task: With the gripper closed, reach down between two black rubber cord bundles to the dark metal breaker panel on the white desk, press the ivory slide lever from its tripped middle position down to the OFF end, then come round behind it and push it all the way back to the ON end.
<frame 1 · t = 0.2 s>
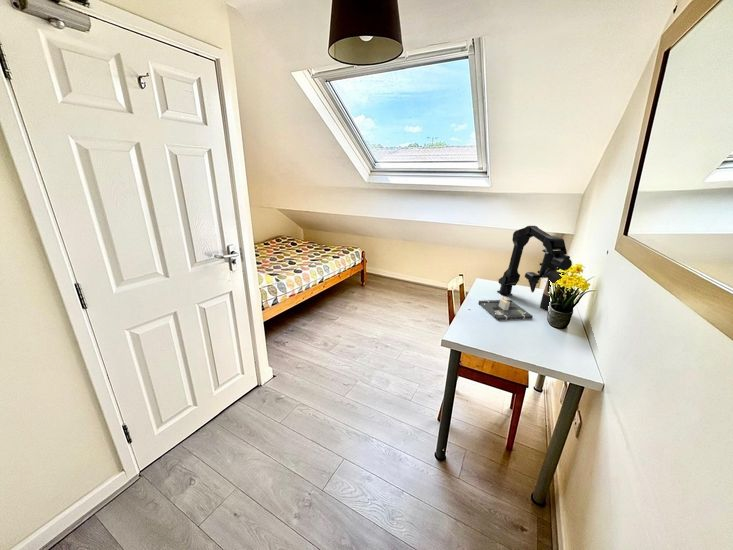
hand: (540, 291, 151), 14 cm above the table, fingers open, 9 cm apart
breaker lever: (504, 303, 158), point 4 cm above the table, slide at 4.0 cm
cord bundle inner: (495, 303, 167), on the table
travel mug: (546, 308, 165), on the table
breaker panel: (504, 310, 160), on the table
cord bundle outer: (513, 318, 152), on the table
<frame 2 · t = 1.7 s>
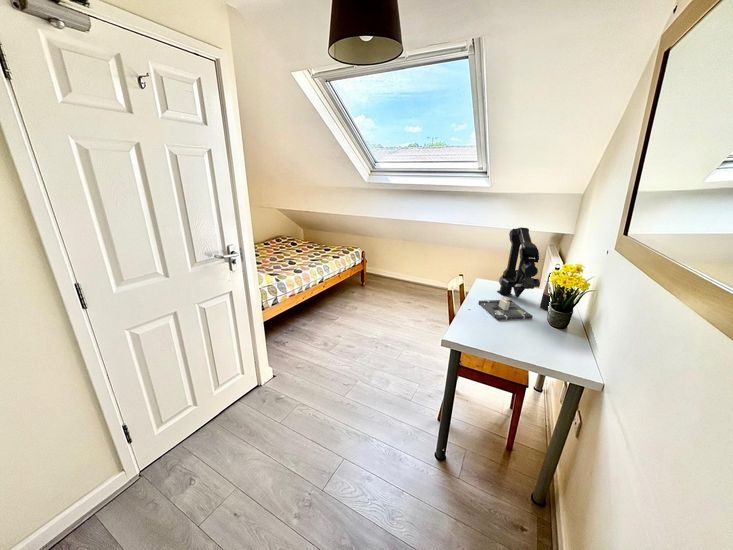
hand: (516, 297, 158), 8 cm above the table, fingers closed
nothing on the table moved.
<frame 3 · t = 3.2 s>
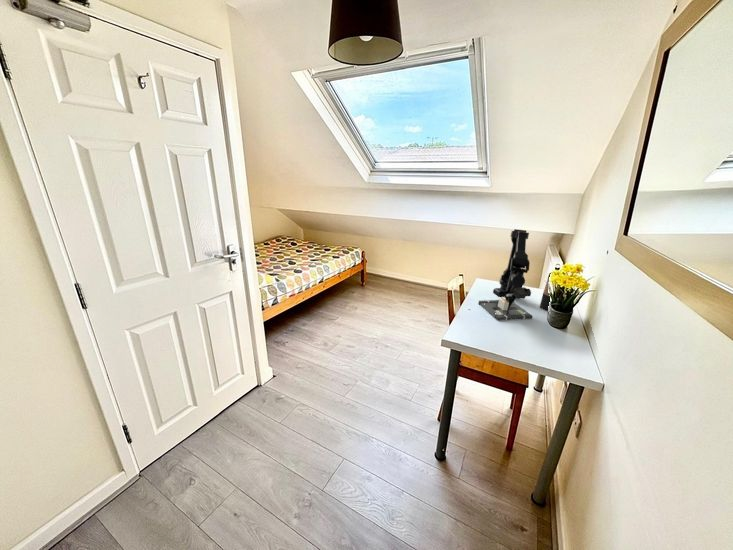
hand: (508, 306, 159), 3 cm above the table, fingers closed
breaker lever: (503, 303, 158), point 4 cm above the table, slide at 3.4 cm, touching gripper
everything else where it was.
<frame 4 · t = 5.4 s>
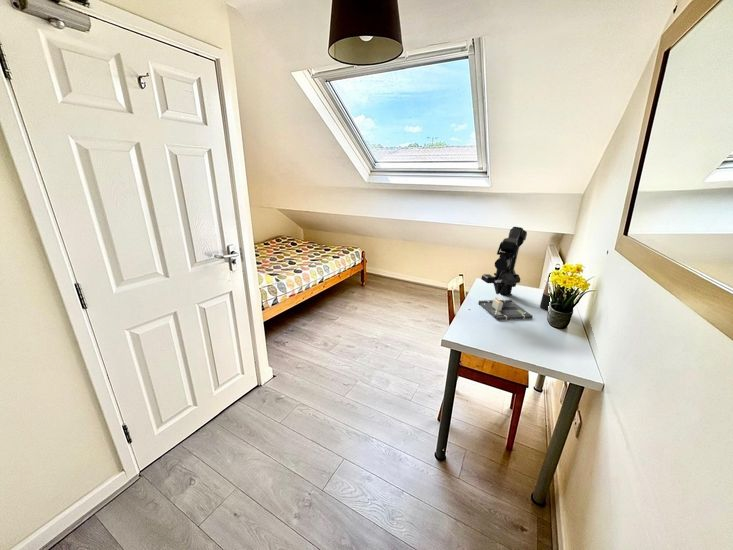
hand: (497, 293, 154), 11 cm above the table, fingers closed
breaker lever: (497, 304, 157), point 4 cm above the table, slide at 0.0 cm
everything else where it was.
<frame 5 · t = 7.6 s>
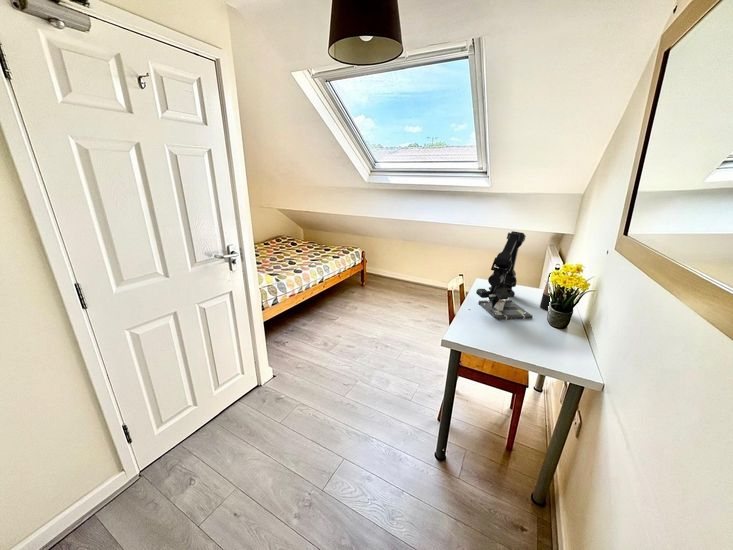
hand: (492, 307, 158), 2 cm above the table, fingers closed
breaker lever: (498, 304, 157), point 4 cm above the table, slide at 0.8 cm, touching gripper
everything else where it was.
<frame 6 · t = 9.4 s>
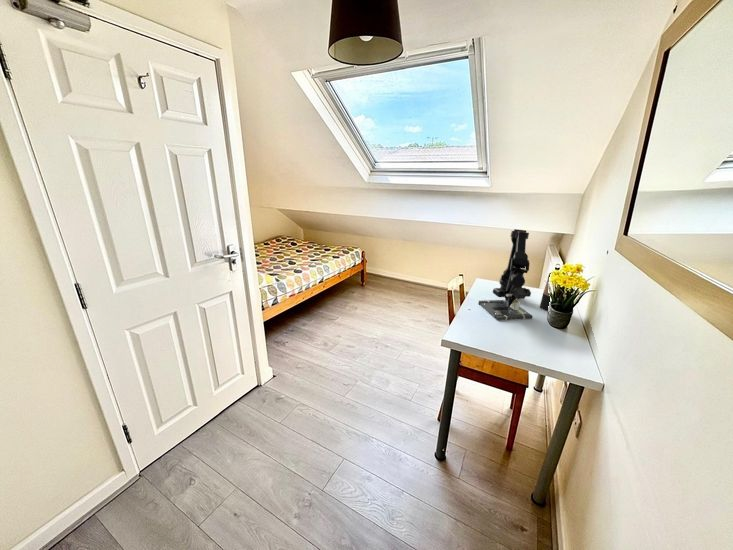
hand: (508, 306, 159), 2 cm above the table, fingers closed
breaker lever: (514, 303, 159), point 4 cm above the table, slide at 10.1 cm, touching gripper
everything else where it was.
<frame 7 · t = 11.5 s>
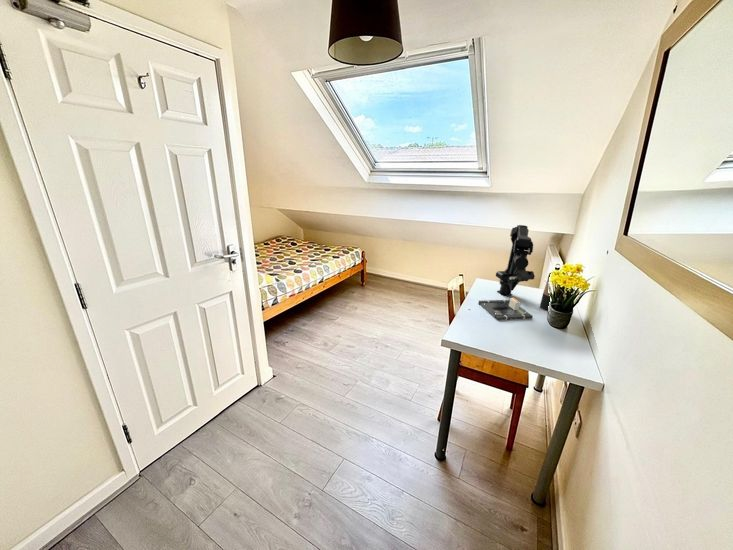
hand: (511, 290, 157), 12 cm above the table, fingers closed
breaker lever: (514, 303, 159), point 4 cm above the table, slide at 10.0 cm
everything else where it was.
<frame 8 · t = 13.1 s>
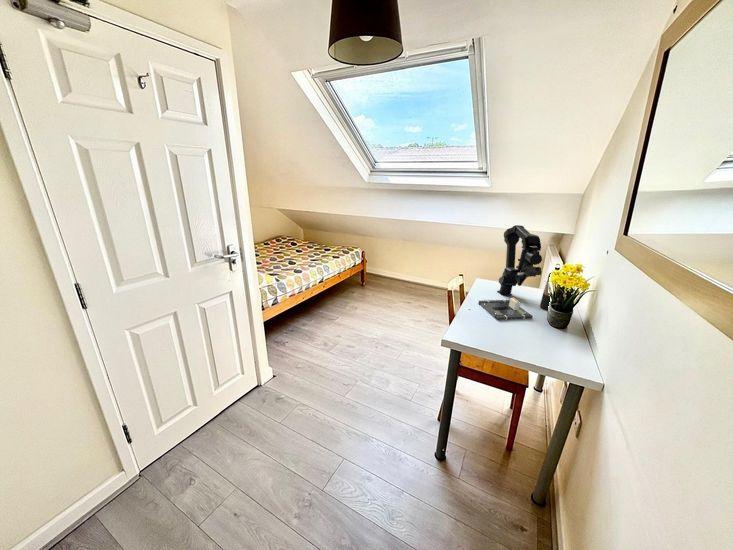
hand: (519, 285, 162), 12 cm above the table, fingers closed
nothing on the table moved.
at the end: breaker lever slide at 10.0 cm; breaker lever touching nothing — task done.
